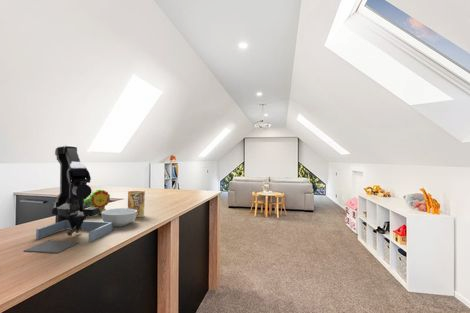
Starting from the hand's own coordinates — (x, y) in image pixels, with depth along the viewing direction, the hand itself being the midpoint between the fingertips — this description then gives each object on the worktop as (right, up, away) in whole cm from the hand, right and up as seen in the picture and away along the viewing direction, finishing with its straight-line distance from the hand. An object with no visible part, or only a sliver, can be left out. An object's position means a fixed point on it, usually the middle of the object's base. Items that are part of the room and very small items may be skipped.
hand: (75, 230), depth 108 cm
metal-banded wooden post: (0, -2, 0) cm, 2 cm away
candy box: (+12, -3, +37) cm, 39 cm away
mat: (+1, -2, -15) cm, 15 cm away
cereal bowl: (+10, -3, +19) cm, 22 cm away
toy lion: (-12, -3, +37) cm, 39 cm away
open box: (0, -2, +1) cm, 2 cm away
